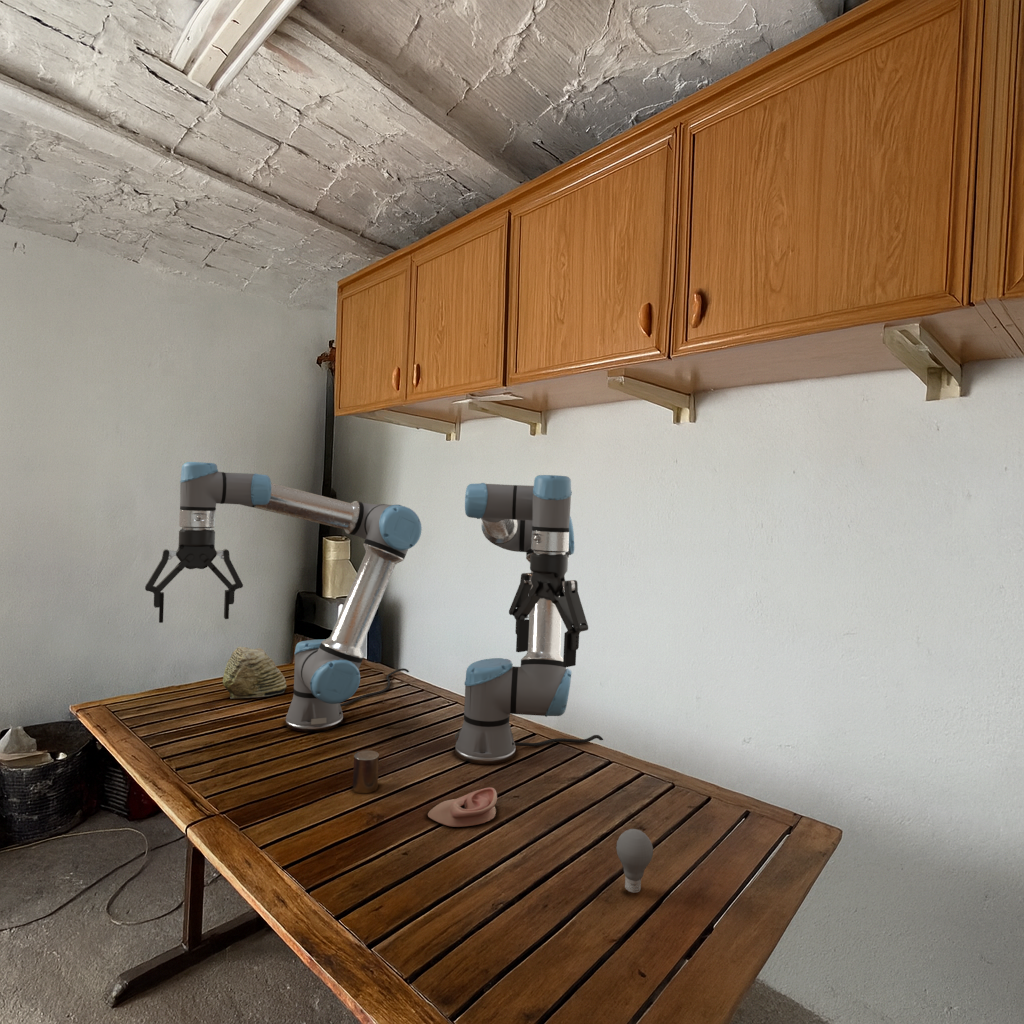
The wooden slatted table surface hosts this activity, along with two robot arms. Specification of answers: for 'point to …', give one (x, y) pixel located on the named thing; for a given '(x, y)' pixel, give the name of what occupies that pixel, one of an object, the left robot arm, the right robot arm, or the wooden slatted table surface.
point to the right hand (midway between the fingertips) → (544, 658)
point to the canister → (365, 771)
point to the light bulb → (634, 857)
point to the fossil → (252, 674)
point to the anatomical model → (466, 809)
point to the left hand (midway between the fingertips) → (194, 620)
